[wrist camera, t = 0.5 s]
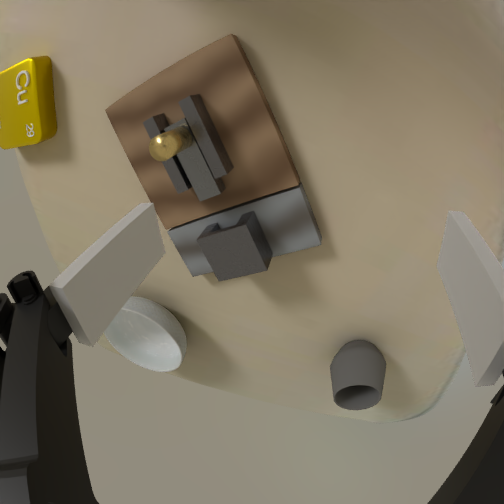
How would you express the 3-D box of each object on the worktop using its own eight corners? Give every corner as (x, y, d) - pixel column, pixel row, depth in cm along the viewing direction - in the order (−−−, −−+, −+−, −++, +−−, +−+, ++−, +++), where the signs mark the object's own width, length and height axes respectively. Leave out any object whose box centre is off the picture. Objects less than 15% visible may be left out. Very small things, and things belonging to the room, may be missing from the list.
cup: (349, 373, 54) (346, 418, 46) (321, 346, 52) (315, 393, 44) (393, 354, 50) (397, 401, 41) (368, 323, 47) (370, 373, 39)
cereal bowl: (128, 336, 65) (113, 358, 59) (111, 275, 56) (90, 298, 50) (199, 356, 62) (186, 382, 56) (191, 294, 53) (174, 322, 47)
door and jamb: (113, 107, 38) (104, 109, 37) (236, 35, 30) (231, 33, 29) (197, 269, 50) (192, 276, 48) (321, 237, 42) (320, 244, 40)
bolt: (171, 125, 36) (141, 137, 30) (191, 115, 35) (163, 125, 29) (205, 195, 40) (183, 219, 34) (225, 188, 39) (205, 210, 33)
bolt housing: (154, 118, 36) (137, 124, 33) (199, 93, 33) (185, 96, 30) (227, 264, 45) (218, 281, 42) (273, 253, 42) (267, 270, 39)
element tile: (7, 73, 38) (-12, 77, 34) (53, 52, 35) (32, 55, 31) (14, 144, 46) (-3, 151, 42) (60, 136, 43) (40, 144, 39)
